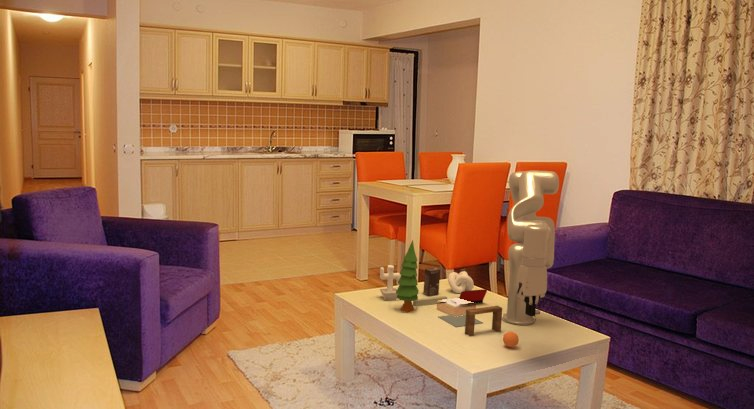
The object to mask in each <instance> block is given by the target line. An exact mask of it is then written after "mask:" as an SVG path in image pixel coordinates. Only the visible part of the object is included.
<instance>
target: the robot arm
mask: <svg viewBox="0 0 754 409" xmlns="http://www.w3.org/2000/svg"><path fill="white" fill-rule="evenodd" d="M508 186H509V191H510V195H511V198H512V202H513V206H512V207H511V208H510V210H509V213H508V215H507V237H508V238H509V240H510V241H511V242H514V243H513V244H511V245H510V246H509V247H508V252H507V253H508V255H507V256H508V266H509V267H508V268H509V269H508V270H509V274H508V289H507V303H506V304H507V306H506V313H505V314H502V320H503V321H504V322H506V323H508V324H511V325H517V326H529V325H530V326H531V325H534V323H535V320H536V319H535V318H534V317H536V315H540V314H541V310H540V309H537V305H538V303H539V300H541V298H544V297H545V296H546V293H547V290H548V269H550V268H552V267H553V265H554V260H555V237H556V232H555V231H556V230H555V227H556V226H555V222H554V220H553V219H552V218H551V217H546V216H537V214H536V213H537V212H538V211H540V210H541V209H543V208H542V207H543V206H544V203H545V202H544V201H545V200H544V195H556V194H557V193H558V190H559V189H560V188H559V187H560V179H559V175H558V174H557V173H556V172H555V171H551V170H550V171H549V170H535V169H533V170H524V171H523V170H520V171H514V172H512V173H511V174H510V175H509V180H508Z"/></svg>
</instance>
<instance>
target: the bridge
mask: <svg viewBox="0 0 754 409" xmlns="http://www.w3.org/2000/svg"><path fill="white" fill-rule="evenodd" d="M488 313H489V314H490V313H492V321H491V322H492V323H491V330H492V331H494V332H496V333H498V332H502V320H503V307H502V306H499V305H491V306H485V307H477V308H470V309H469V308H468V309H465V314H466V321H465V326H464V334H465V335H467V336H469V337H472V336H473V337H474V336H475V325H476V324H475V319H476V315H483V314H488Z"/></svg>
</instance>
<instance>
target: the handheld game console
mask: <svg viewBox="0 0 754 409" xmlns="http://www.w3.org/2000/svg"><path fill="white" fill-rule="evenodd" d="M487 292H488V290H487V289H485V288H484V289H472V290H471V291H463V292H461V293H459V294H460V295H459V297H458V298H460V299H464V300H467V301H471V302H474V303H476V304H483V303H484V299H485V296H486V295H487Z"/></svg>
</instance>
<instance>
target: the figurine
mask: <svg viewBox="0 0 754 409" xmlns="http://www.w3.org/2000/svg"><path fill="white" fill-rule="evenodd" d="M394 270H395V266H394V265H392V264H388V265H387V269H386V272H387V273H385V268H384V267H383V266H382V267H381V266H380V268H379V278H380V280H382V281H383V280H384V281H386V288H379V291H380V293H381V295H382V298H383V299H384V300H385V301H396V300H397V299H398V298H397V295H398V293H396V291H397V289H398V288H395V287H394V280H396V285H397V286H399V285H400V284H398V281H399V279H400V277H401V274H400V272H394Z"/></svg>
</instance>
